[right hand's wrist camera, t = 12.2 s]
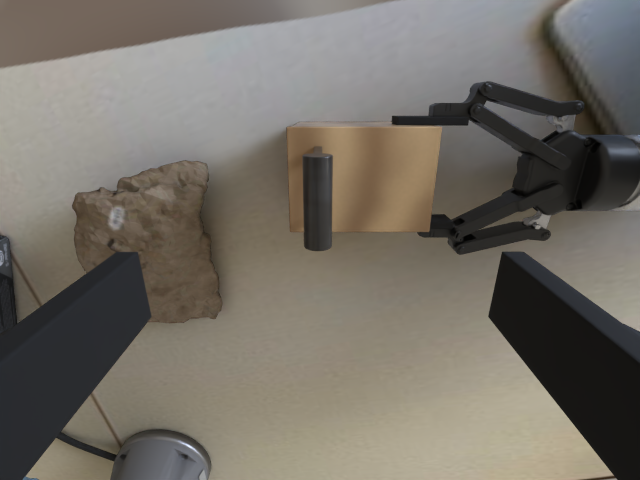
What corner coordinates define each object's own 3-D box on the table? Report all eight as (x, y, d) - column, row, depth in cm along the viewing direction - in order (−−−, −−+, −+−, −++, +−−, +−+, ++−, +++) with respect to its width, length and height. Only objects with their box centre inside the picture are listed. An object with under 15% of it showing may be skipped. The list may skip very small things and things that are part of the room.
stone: (62, 156, 36) (35, 176, 31) (207, 153, 40) (205, 171, 35) (113, 306, 47) (100, 339, 42) (225, 294, 50) (224, 323, 45)
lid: (291, 227, 33) (281, 269, 25) (287, 126, 30) (274, 133, 22) (425, 227, 34) (461, 269, 25) (437, 125, 30) (484, 133, 22)
